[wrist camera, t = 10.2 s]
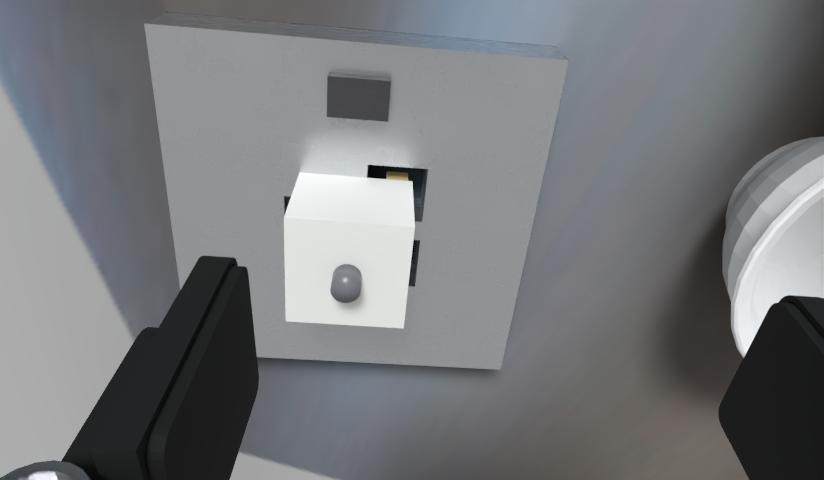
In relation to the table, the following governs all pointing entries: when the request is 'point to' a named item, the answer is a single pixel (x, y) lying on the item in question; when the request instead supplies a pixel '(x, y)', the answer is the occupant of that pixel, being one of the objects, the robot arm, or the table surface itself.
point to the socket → (358, 166)
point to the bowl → (775, 235)
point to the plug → (349, 249)
